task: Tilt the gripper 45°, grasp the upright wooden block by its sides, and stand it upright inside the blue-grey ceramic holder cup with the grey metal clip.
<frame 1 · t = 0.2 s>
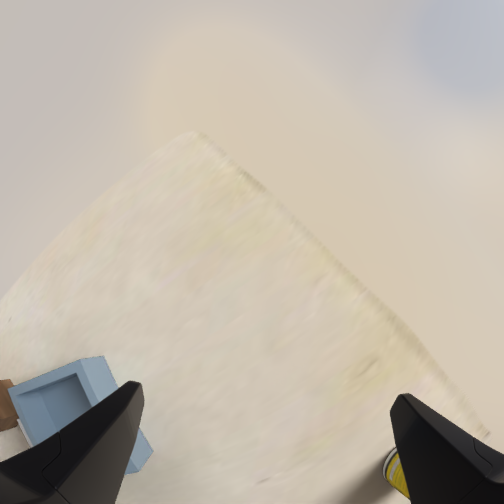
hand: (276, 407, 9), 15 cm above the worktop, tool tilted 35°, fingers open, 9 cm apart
supplement bottle: (402, 460, 21), on the worktop
holder: (87, 418, 20), on the worktop
upright wooden block: (12, 403, 19), on the worktop
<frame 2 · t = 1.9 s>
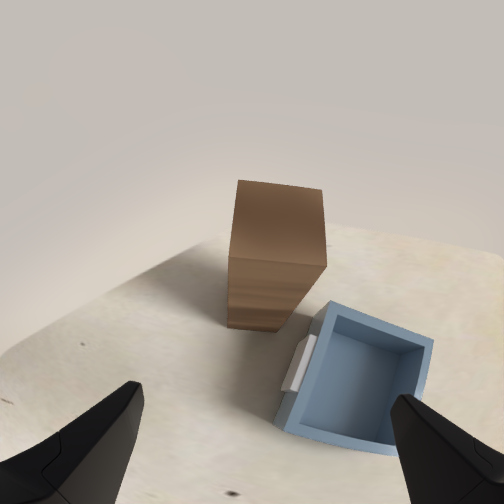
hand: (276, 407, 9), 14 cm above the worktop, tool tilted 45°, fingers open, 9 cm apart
holder: (346, 387, 21), on the worktop
upright wooden block: (253, 307, 24), on the worktop
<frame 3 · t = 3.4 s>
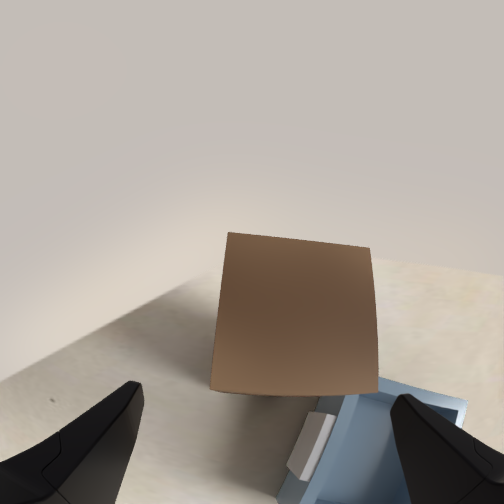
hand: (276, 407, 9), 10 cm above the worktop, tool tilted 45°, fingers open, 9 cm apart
holder: (363, 453, 16), on the worktop
upright wooden block: (254, 365, 18), on the worktop
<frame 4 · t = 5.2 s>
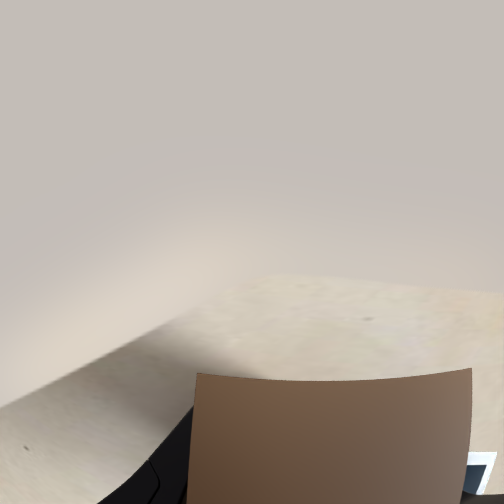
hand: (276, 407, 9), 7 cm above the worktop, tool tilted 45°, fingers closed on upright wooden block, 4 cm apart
upright wooden block: (255, 424, 14), on the worktop, touching gripper
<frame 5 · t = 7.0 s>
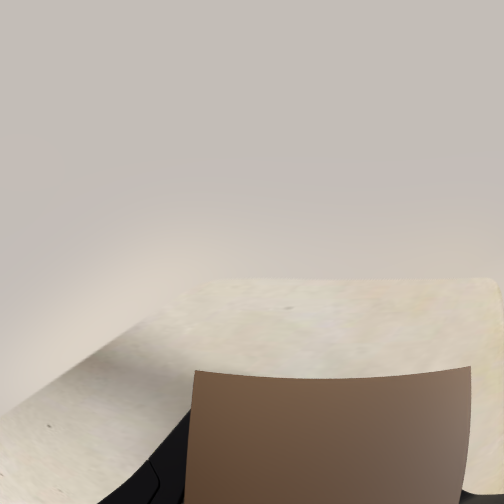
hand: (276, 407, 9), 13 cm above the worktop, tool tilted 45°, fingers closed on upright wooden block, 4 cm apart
upright wooden block: (254, 424, 14), point 7 cm above the worktop, touching gripper
when the fingers open (9 cm above the worktop, at t = 9.5 s): upright wooden block drops 1 cm, resting on holder.
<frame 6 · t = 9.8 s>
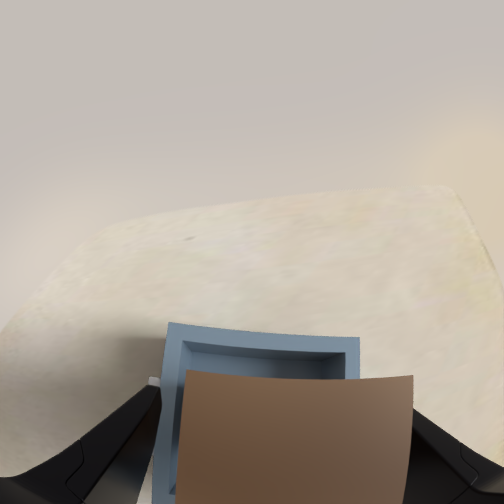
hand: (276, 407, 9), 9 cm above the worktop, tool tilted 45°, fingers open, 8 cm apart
holder: (252, 421, 15), on the worktop
upright wooden block: (252, 421, 15), point 1 cm above the worktop, touching holder
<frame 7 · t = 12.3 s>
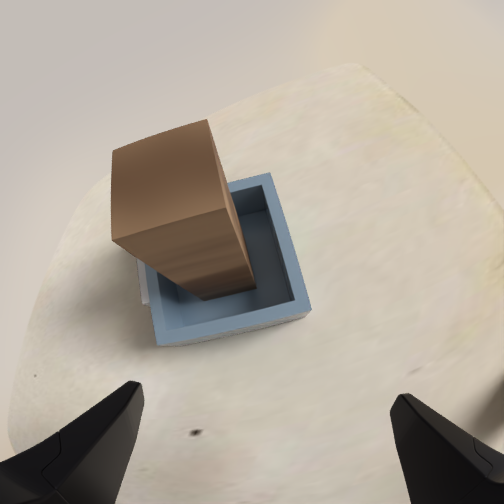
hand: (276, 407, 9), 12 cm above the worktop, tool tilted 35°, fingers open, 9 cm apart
holder: (227, 271, 22), on the worktop
upright wooden block: (224, 269, 22), point 1 cm above the worktop, touching holder
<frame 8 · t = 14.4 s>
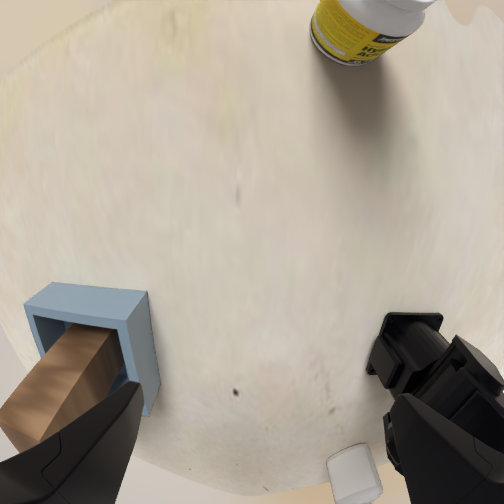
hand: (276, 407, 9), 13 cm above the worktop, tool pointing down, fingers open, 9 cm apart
supplement bottle: (344, 37, 16), on the worktop
holder: (104, 335, 23), on the worktop
eye dropper bottle: (347, 452, 29), on the worktop
upright wooden block: (101, 339, 22), point 1 cm above the worktop, touching holder
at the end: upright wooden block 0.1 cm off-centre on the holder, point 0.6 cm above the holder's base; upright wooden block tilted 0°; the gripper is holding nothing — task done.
